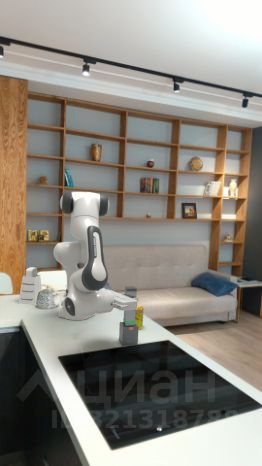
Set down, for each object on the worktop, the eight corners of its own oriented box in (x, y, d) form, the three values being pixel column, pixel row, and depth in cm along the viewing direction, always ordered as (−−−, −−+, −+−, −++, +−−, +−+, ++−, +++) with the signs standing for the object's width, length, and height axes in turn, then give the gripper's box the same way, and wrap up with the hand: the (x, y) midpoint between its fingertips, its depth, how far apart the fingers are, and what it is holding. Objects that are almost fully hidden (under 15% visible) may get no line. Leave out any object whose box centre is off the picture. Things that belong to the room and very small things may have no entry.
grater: (18, 303, 203) (19, 268, 201) (26, 298, 213) (27, 266, 212) (35, 305, 201) (36, 270, 200) (42, 300, 212) (44, 267, 210)
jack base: (109, 340, 154) (110, 320, 153) (140, 339, 157) (141, 319, 157) (114, 351, 142) (115, 329, 142) (147, 350, 146) (149, 328, 145)
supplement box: (140, 332, 166) (141, 309, 165) (128, 331, 167) (129, 308, 166) (142, 328, 171) (144, 306, 171) (130, 327, 173) (131, 305, 172)
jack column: (122, 326, 151) (124, 286, 149) (132, 325, 152) (134, 286, 150) (125, 329, 147) (127, 288, 145) (134, 329, 148) (137, 288, 146)
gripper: (120, 299, 132) (148, 295, 140) (91, 288, 148) (118, 285, 156) (119, 316, 132) (147, 311, 141) (90, 303, 148) (117, 299, 157)
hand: (132, 297), depth 149 cm, fingers open, 5 cm apart
